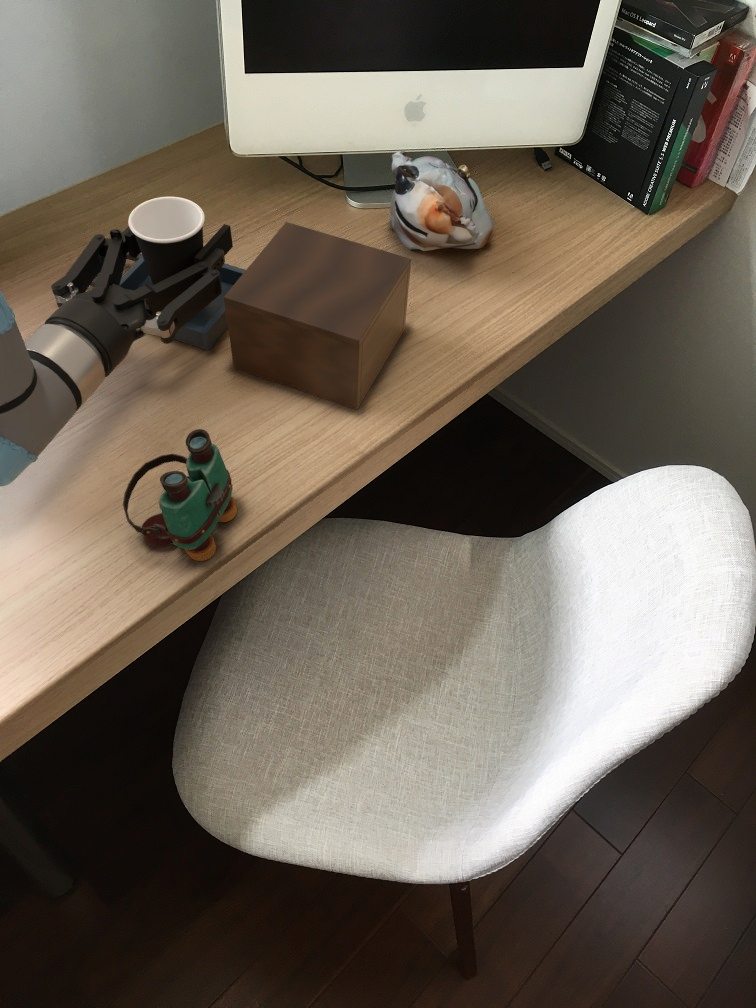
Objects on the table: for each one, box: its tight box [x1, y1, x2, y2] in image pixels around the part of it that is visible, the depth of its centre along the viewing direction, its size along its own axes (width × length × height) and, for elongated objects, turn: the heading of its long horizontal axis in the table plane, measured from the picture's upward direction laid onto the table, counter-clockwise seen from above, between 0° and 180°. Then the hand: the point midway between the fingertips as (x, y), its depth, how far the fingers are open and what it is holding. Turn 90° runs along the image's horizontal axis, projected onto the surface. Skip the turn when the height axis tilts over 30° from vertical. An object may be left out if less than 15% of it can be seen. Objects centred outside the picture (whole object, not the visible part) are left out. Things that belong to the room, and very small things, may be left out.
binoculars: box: [122, 428, 238, 562], centre depth 70 cm, size 9×11×10 cm
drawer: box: [89, 252, 247, 351], centre depth 91 cm, size 18×12×2 cm, turn 68°
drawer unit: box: [224, 221, 412, 411], centre depth 85 cm, size 15×14×10 cm
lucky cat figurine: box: [389, 150, 495, 252], centre depth 96 cm, size 15×12×14 cm
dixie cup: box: [127, 196, 206, 285], centre depth 87 cm, size 8×8×11 cm
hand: (194, 225), depth 89 cm, fingers closed on dixie cup, 8 cm apart
